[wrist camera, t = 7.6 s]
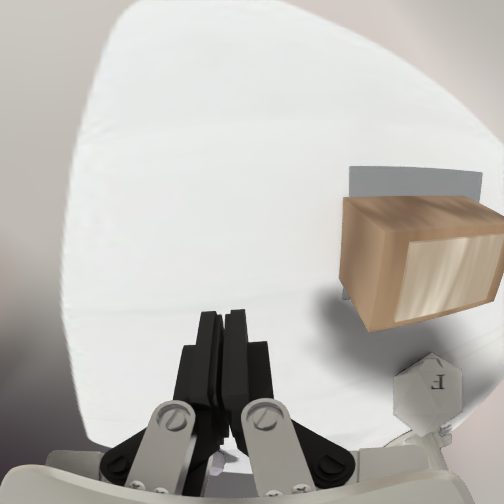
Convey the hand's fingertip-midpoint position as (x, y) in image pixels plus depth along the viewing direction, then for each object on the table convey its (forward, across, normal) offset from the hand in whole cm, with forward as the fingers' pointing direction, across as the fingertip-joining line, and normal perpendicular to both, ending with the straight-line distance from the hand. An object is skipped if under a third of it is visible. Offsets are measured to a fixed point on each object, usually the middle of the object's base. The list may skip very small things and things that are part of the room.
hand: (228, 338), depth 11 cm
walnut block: (+6, -7, 0) cm, 9 cm away
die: (+9, -19, +17) cm, 27 cm away
